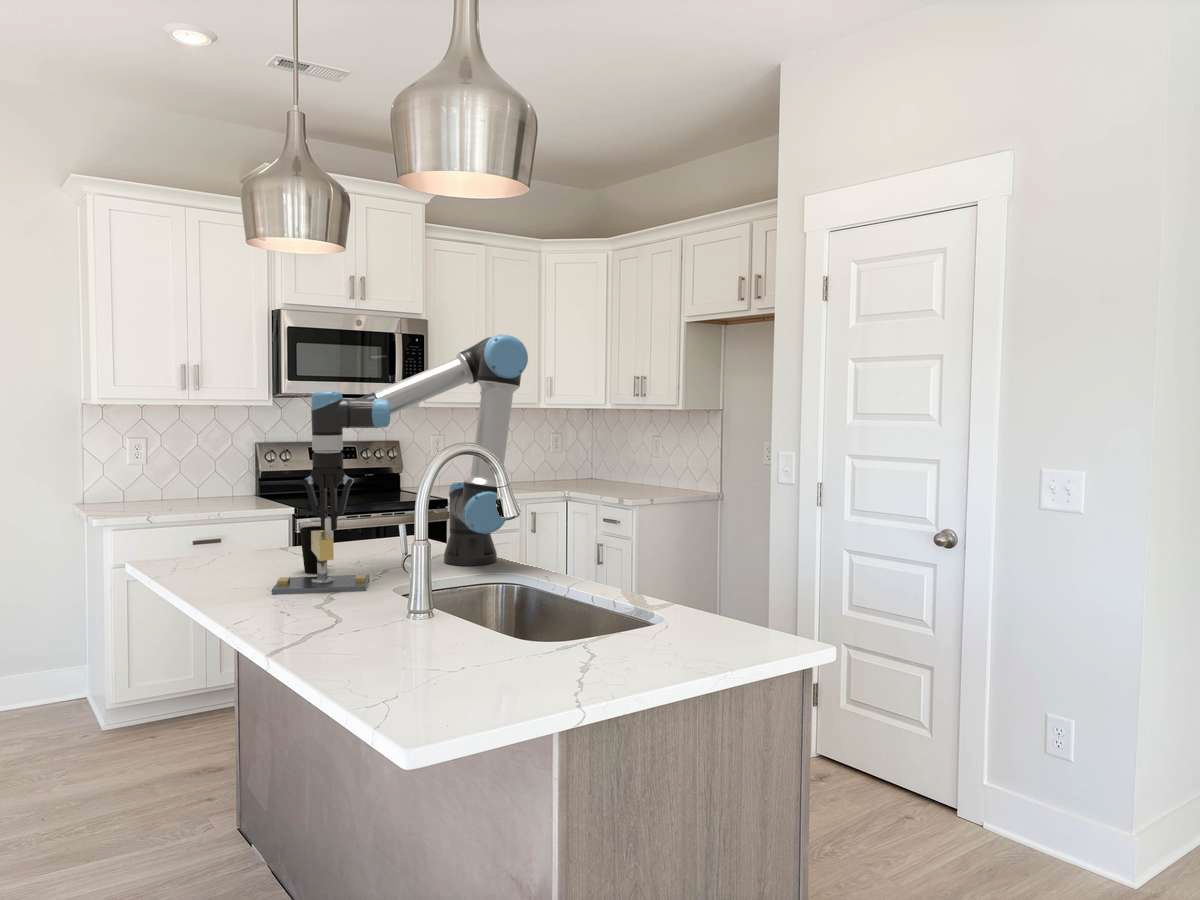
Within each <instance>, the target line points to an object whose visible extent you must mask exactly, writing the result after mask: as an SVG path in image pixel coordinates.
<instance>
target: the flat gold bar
mask: <svg viewBox="0 0 1200 900" xmlns="http://www.w3.org/2000/svg"><path fill="white" fill-rule="evenodd" d="M333 541H334V538H333V539H332V538H331V537H330V536H329V535H328V534H327V533H326V532H325V531H324V530H318V531H311V550H312V552H313V553H314V554H315V555H316V557H317V562H326V561H327V562H328V561H334V560H335V559H334V542H333Z"/></svg>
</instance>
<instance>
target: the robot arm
mask: <svg viewBox="0 0 1200 900" xmlns="http://www.w3.org/2000/svg"><path fill="white" fill-rule="evenodd" d="M528 361H529V355H528V351H527V348H526V346H525V345H524V343H523V342H522V341H521V340H520V339H519V338H517V337H516V336H514V335H510V334H497V335H494V336H490V337H486V338H484V339H482V340H480V341H478V342H477V343H476V344H474V345H472V346H470V347H468V348H467V349H464V350H463V351H460V352H458V353H457V354H456V356H455V358H453V359H449V360H447V361H445V362H443V363H440V364H438V365H435V366H433V367H431V368H428V369H426V370H424V371H420V372H419V373H416V374H414V375H411V376H409V377H407V378H404V379H402V380H399V381H397V382H394V383H392V384H390V385H388V386H385V387H383V388H381V389H378V390H375V391H373V392H370V393H369V394H368V393H367V394H366V395H363V396H361V397H356V398H353V399H352V398H351V399H348V398H343V394H342V392H341V391H314V392H313V393H312V394H311V409H310V411H311V412H310V413H311V444H312V445H311V449H312V451H313V452H312V455H311V459H312V469H311V472H310V475H309V476H307V477H305V478H304V479H301V480H302V481H301V483H302V484H303V486H304V488H305V489H306V493H307V497H308V500H309V503H310V507H311V511H312V515H313V516H316V517H319V519H320V526H321V530H325V532H326V533H327V534H328V535H329V536H330V537H331V538H332V539H333V543H334V531H336V530H338V529H337V528H338V517H340V516H343V515H344V514H345V513H346V512H345V511H346V508H347V503H348V499H349V495H350V491H351V486H352V485H353V484H354V482H355V478H353V477H349V476H348V475H346V471H345V469H344V453H343V452H342V450H343V449H344V445H343V443H344V442H343V441H344V437H343V435H344V434H343V429H350V428H351V429H379V428H380V429H381V428H387V427H389V425H390V422H391V416H392V415H393V414H395V413H399V412H400V411H402V410H405V409H407V408H410V407H413V406H415V405H417V404H419V403H421V402H424V401H426V400H429V399H431V398H434V397H436V396H438V395H440V394H443V393H445V392H447V391H450V390H452V389H456V388H457V387H460V386H462V385H464V384H469V385H474V384H476V383H478V384H479V386H480V387H481V393H480V401H479V408H478V417H477V423H476V426H477V427H476V432H475V433H476V434H475V441H474V445H475V444H478V445H481V446H483V447H485V448H487V449H488V450H490V451H491V452H493V453H494V454H495V455H496V456H497V457H498V458H499V460H500V462H501V463H502V465H503V468H504V466H505V458H506V451H507V443H508V437H509V435H508V434H509V429H510V428H509V427H510V421H511V412H512V406H513V399H514V398H513V396H514V393H515V392H516V391H517V390H518V389H519V388H520V386H521V379H522V374H523V372H525V369H526V368H527V365H528ZM342 481H343V487H342V492H341V497H340V502H339V505H338V486H339V485H340V484H341V482H342ZM314 482H315V484H316V485H317V486H318V487H319V488H318V490H319V503H318V498H317V495H316V491H315V488H314ZM328 488H329V497H330V498H329V500H330V501H329V502H330V504H329V508H330V509H329V511H330V516H329V514H328ZM448 497H449V538H448V541H447V543H446V546H445V550H444V553H443V562H444V563H445V564H447V565H452V566H461V567H462V566H468V567H469V566H482V565H483V566H484V565H489V564H493V563H496V562H497V560H498V559H497V558H498V557H497V556H498V555H497V550H496V547H495V545H494V541H493V538H492V535H491V534H492V533H494V532H497V531H498V530H500V529H501V528H502V527H503V526H504V524H505V523H506V521H507V519H503V518H501V517H500V516H499V514H498V511H497V507H496V500H497V488H496V482H495V478H494V476H493V474H492V472H491V470H490V468H489V466H488V465H487V464H486V463H485V462H484V461H482V460H481V459H480V458H479V457H476V456H474V455H473V456H472V463H471V472H470V475H469V476H468V477H467V478H466V479H464V481H463V482H462V481H461V482H453V483H451V484H450V486H449V493H448Z"/></svg>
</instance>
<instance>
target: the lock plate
mask: <svg viewBox="0 0 1200 900" xmlns="http://www.w3.org/2000/svg"><path fill="white" fill-rule="evenodd" d="M370 578H371V575H370V574H343V575H328V561H327V562H318V563H317V574H316V575H315V576H292V577H291V576H287V577H286V576H285V577H283V576H282V577H279V578H278V580H277V581H276V584H274V586H273V587H272V589H271V595H291V594H293V595H294V594H316V593H317V594H318V593H340V592H341V593H344V592H346V593H348V592H366V591H367V589H368V587H369V582H370Z"/></svg>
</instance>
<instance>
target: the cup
mask: <svg viewBox="0 0 1200 900" xmlns="http://www.w3.org/2000/svg"><path fill="white" fill-rule="evenodd" d="M318 530H321V525H314V526H313V525H312V526H310V525H309V526H303V527H300V528H299V532H300V533H299V534H300V543H301V551H302V559H303V568H304V574H307V575H317V563H318V562H317V557H316V555H315V554H314V553H313V552H312V550H311V531H318ZM324 531H325V530H324ZM326 562H327V563H328V560H327V561H326Z"/></svg>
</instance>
